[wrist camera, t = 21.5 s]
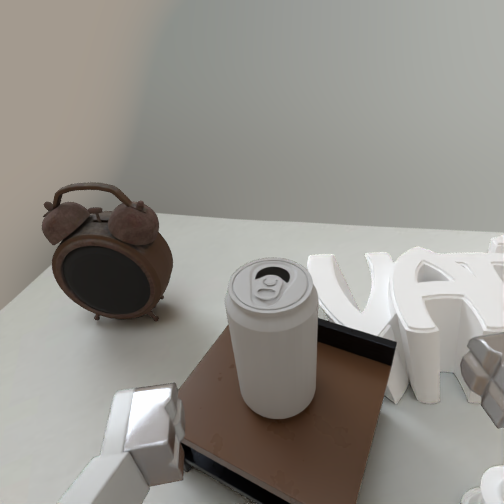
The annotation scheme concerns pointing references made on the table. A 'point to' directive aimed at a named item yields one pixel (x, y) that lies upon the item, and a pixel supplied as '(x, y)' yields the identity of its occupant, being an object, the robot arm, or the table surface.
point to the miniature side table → (290, 423)
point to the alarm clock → (108, 254)
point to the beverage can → (274, 335)
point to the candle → (487, 488)
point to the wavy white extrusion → (420, 310)
